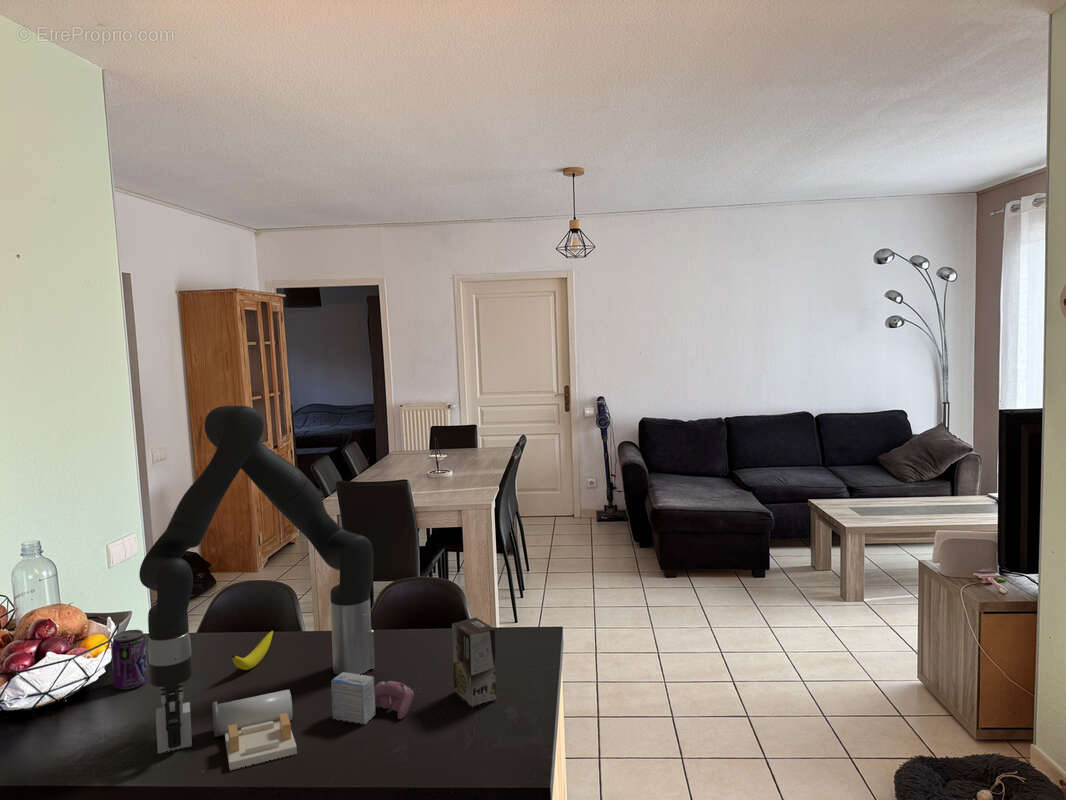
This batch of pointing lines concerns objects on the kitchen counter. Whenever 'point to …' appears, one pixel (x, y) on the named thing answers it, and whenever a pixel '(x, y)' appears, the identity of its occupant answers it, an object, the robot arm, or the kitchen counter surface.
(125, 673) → the beverage can
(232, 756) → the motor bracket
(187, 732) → the grey box with knob
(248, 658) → the banana
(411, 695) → the video game controller
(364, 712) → the medicine box
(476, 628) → the coffee box
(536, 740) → the kitchen counter surface
